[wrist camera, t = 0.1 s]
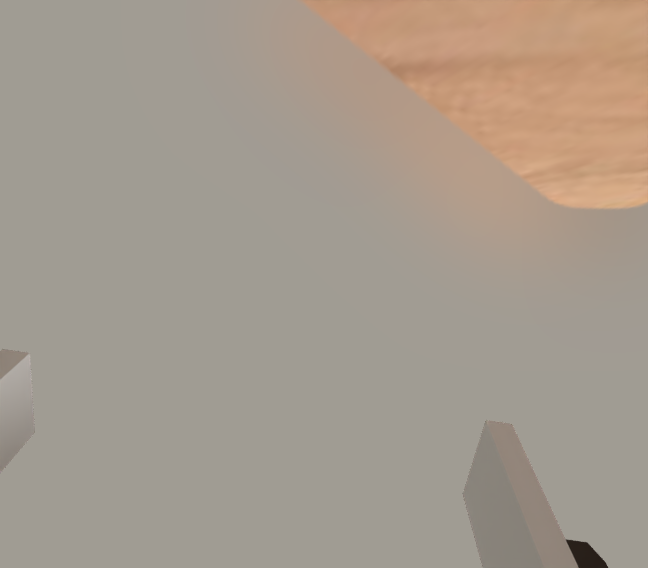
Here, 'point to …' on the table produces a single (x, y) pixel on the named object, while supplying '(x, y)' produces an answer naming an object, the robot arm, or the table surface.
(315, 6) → the table surface
